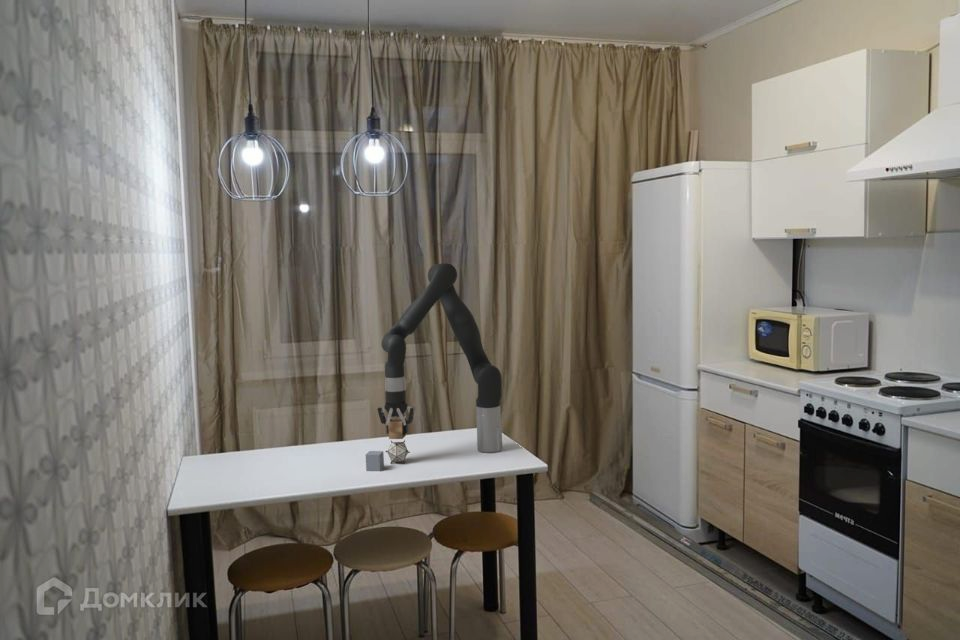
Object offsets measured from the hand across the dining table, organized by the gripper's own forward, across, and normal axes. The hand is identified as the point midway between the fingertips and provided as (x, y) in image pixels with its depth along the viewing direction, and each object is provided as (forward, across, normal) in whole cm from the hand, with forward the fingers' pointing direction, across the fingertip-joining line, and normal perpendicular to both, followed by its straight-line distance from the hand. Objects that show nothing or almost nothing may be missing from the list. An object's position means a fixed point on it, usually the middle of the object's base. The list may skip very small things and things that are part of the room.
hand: (397, 434), depth 276 cm
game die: (+11, 0, 0) cm, 11 cm away
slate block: (+10, +6, +9) cm, 15 cm away
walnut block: (+1, 0, 0) cm, 1 cm away
